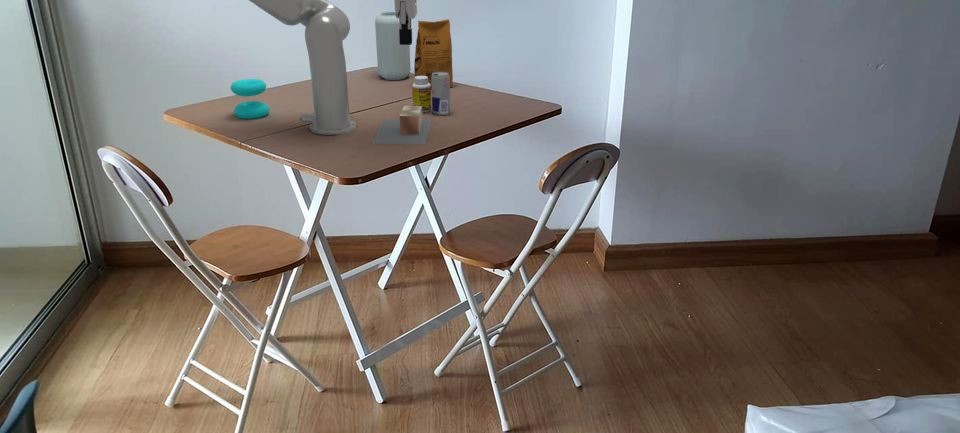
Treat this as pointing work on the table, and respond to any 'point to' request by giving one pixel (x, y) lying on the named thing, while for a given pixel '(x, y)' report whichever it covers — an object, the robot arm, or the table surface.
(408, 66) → the vase
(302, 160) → the table surface
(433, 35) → the coffee package
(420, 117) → the birch block
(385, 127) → the rubber mat
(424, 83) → the supplement bottle
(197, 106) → the table surface
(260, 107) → the donuts
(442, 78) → the energy drink
